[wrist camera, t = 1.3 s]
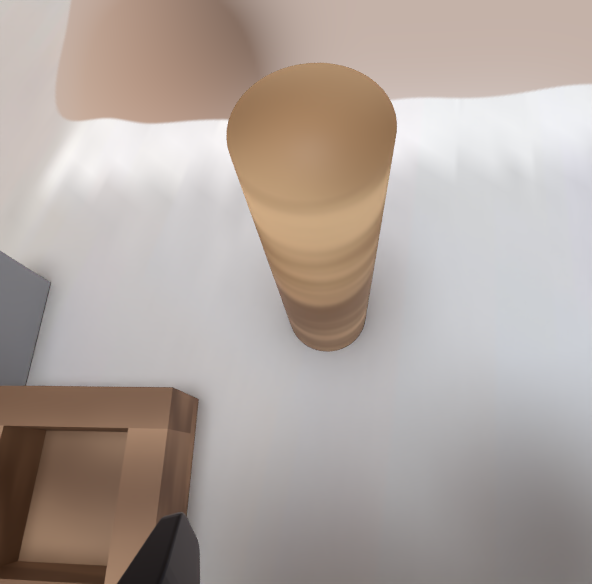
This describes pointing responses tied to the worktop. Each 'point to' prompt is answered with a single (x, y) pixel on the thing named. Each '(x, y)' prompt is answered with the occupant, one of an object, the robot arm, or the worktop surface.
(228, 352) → the worktop surface
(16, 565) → the socket block
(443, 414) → the worktop surface
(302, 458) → the worktop surface
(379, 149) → the dowel
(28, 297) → the backstop wall
